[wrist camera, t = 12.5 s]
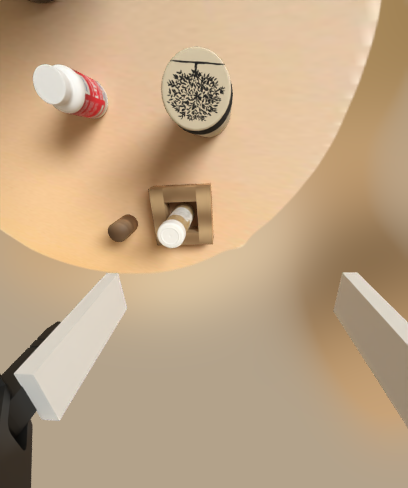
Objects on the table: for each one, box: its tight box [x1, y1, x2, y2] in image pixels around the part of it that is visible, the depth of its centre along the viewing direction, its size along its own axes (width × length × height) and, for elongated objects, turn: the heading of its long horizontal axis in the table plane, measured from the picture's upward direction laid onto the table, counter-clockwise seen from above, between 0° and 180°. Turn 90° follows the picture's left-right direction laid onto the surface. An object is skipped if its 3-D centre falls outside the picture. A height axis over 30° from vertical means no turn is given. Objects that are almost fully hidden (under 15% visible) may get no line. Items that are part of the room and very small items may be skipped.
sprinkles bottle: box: [157, 203, 195, 248], centre depth 42 cm, size 5×5×14 cm
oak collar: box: [148, 183, 213, 245], centre depth 46 cm, size 12×12×4 cm
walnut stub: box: [108, 215, 138, 242], centre depth 47 cm, size 4×4×6 cm
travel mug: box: [161, 47, 233, 137], centre depth 31 cm, size 8×8×18 cm
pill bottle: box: [33, 64, 108, 118], centre depth 35 cm, size 6×6×11 cm
